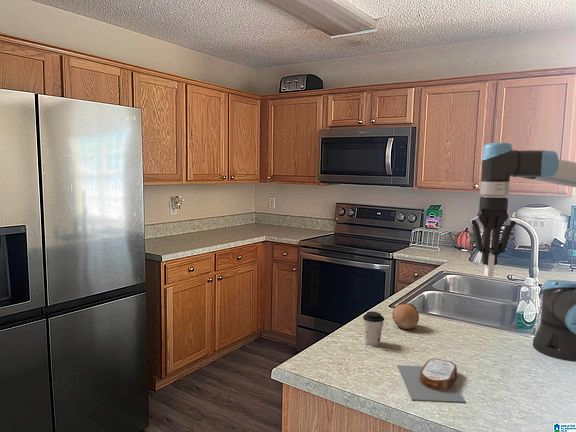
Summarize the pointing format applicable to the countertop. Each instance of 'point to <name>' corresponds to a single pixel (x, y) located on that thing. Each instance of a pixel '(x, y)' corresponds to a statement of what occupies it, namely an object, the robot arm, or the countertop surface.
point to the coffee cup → (373, 327)
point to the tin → (438, 374)
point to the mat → (425, 393)
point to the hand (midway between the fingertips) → (488, 275)
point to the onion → (405, 316)
